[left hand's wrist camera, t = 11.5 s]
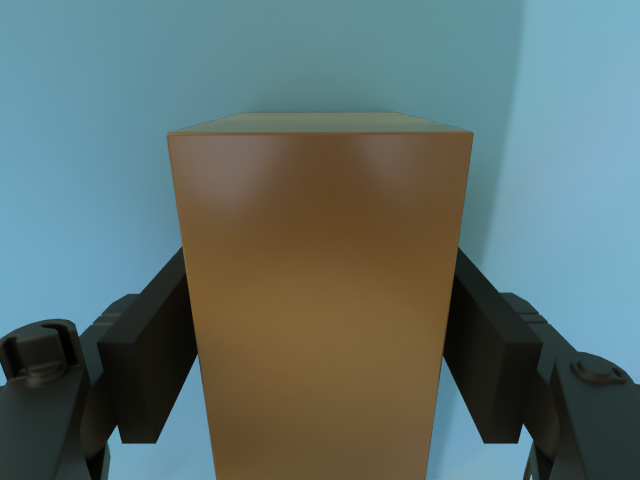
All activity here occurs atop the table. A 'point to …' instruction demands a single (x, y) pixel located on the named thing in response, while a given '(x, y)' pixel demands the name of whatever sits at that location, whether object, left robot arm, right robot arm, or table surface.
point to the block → (320, 286)
